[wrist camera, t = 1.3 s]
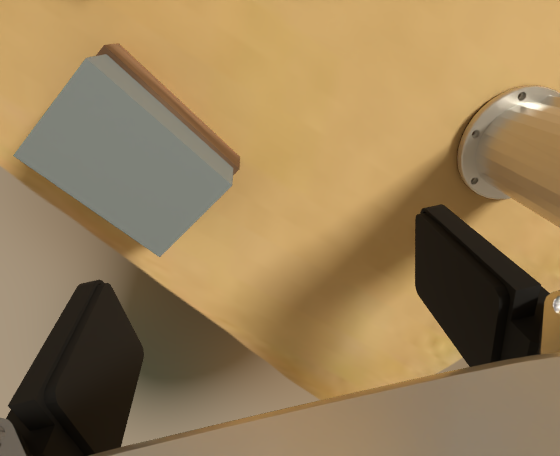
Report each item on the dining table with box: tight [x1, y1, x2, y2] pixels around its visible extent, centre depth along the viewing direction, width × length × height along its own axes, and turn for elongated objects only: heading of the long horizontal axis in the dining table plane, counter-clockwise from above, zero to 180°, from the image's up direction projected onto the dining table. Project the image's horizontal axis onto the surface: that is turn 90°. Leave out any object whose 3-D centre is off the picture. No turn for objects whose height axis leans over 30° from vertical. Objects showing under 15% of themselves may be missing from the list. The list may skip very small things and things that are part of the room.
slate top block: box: [13, 54, 233, 257], centre depth 32 cm, size 10×14×4 cm
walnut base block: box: [96, 44, 240, 175], centre depth 36 cm, size 11×15×4 cm
